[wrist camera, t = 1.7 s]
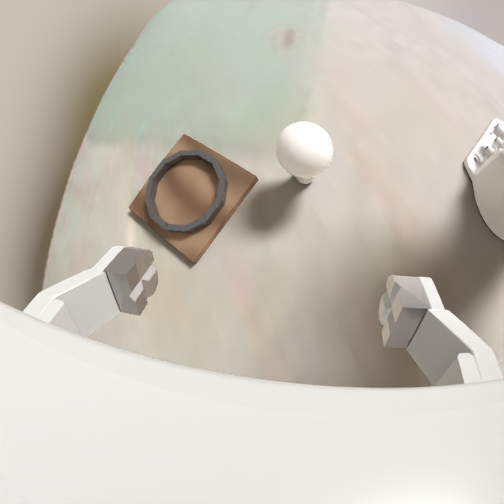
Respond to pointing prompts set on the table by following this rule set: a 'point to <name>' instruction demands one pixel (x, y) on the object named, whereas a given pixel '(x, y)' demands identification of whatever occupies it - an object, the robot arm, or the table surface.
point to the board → (194, 198)
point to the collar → (162, 170)
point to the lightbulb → (304, 150)
